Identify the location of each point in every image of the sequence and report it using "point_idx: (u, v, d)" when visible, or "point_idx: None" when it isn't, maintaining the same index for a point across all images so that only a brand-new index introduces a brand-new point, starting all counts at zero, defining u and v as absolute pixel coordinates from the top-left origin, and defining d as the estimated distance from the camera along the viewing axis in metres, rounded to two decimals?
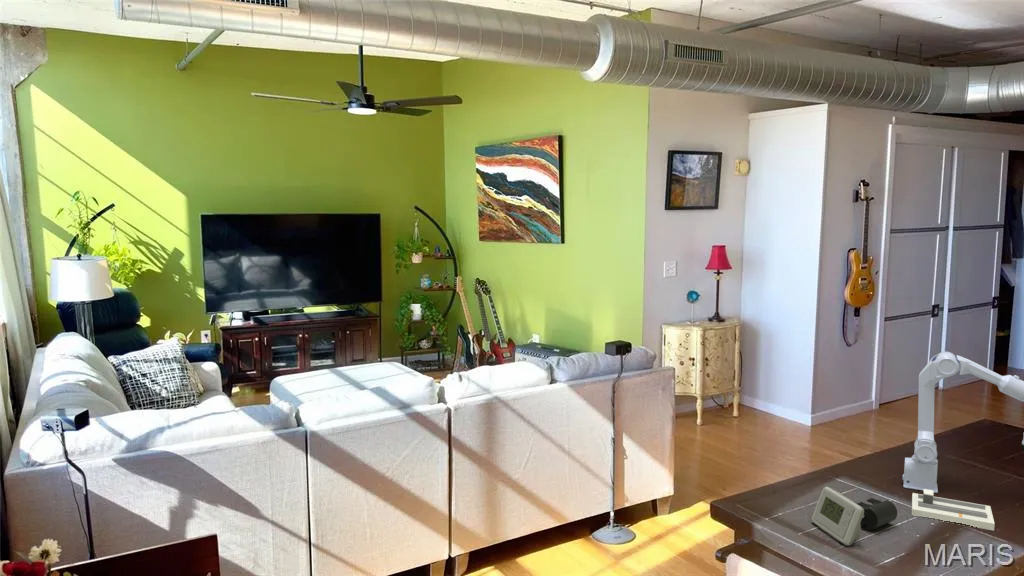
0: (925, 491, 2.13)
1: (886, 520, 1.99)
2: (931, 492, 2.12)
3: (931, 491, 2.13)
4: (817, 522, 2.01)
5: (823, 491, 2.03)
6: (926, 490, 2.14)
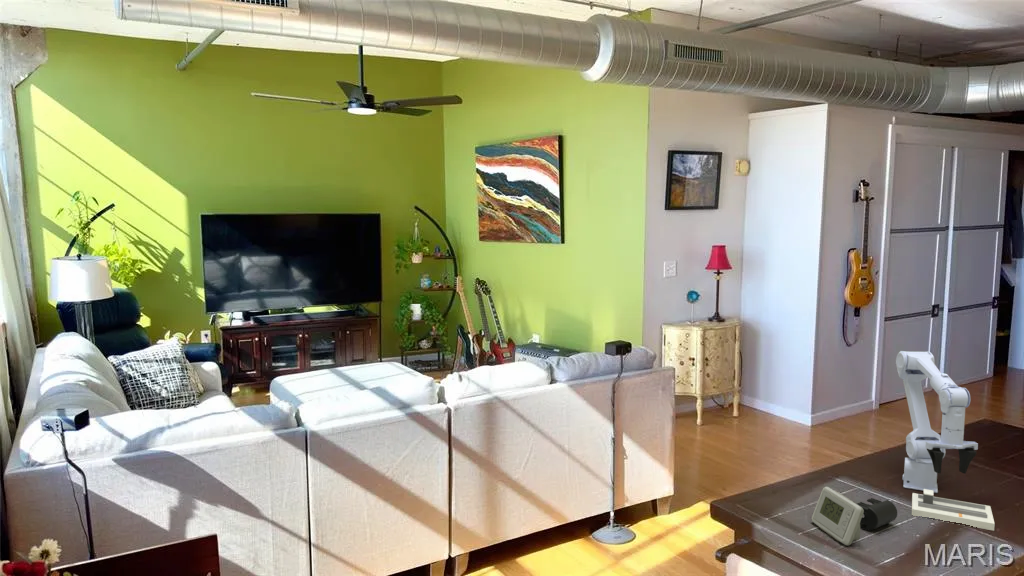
0: (925, 491, 2.13)
1: (886, 520, 1.99)
2: (931, 492, 2.12)
3: (931, 491, 2.13)
4: (817, 522, 2.01)
5: (823, 491, 2.03)
6: (926, 490, 2.14)
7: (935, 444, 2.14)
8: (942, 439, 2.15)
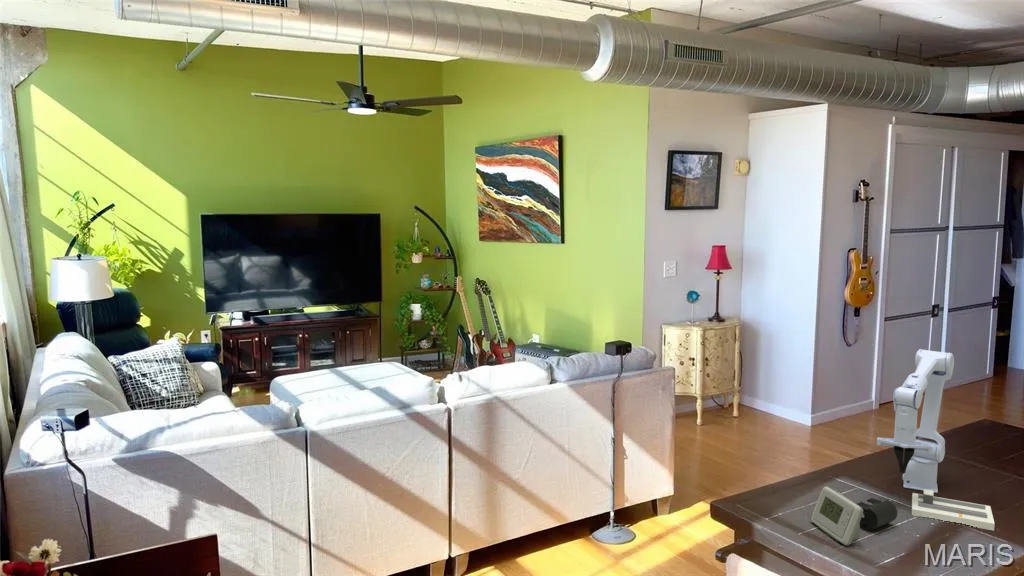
0: (925, 491, 2.13)
1: (886, 520, 1.99)
2: (931, 492, 2.12)
3: (931, 491, 2.13)
4: (816, 522, 2.01)
5: (822, 491, 2.03)
6: (926, 490, 2.14)
7: (883, 440, 2.17)
8: (894, 437, 2.16)
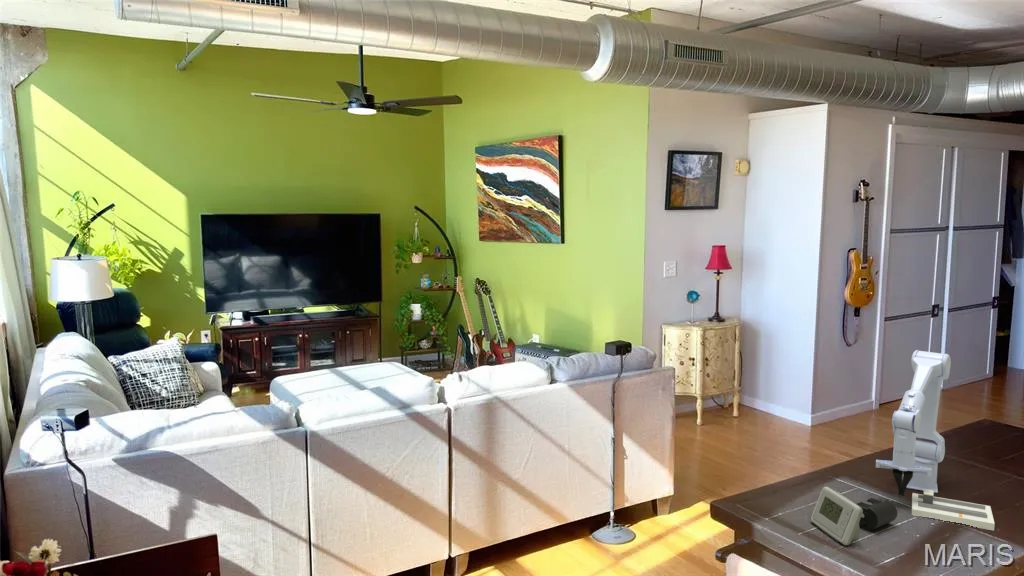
0: (925, 491, 2.13)
1: (886, 520, 1.99)
2: (931, 492, 2.12)
3: (931, 491, 2.13)
4: (816, 522, 2.01)
5: (822, 491, 2.03)
6: (926, 490, 2.14)
7: (882, 463, 2.17)
8: None
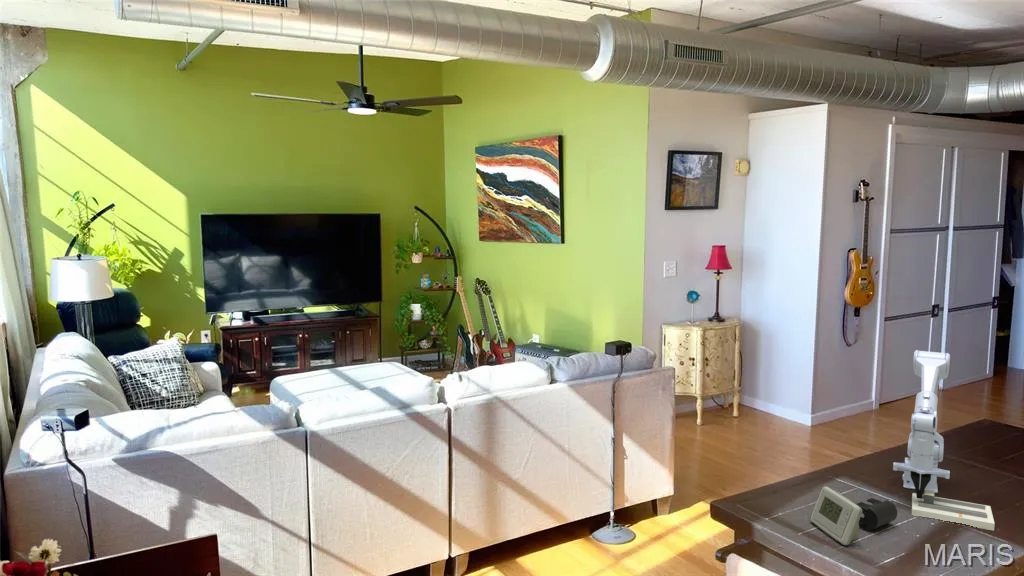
0: (926, 491, 2.13)
1: (886, 520, 1.99)
2: (932, 492, 2.12)
3: (932, 491, 2.13)
4: (816, 522, 2.01)
5: (822, 491, 2.03)
6: (927, 490, 2.14)
7: (899, 466, 2.15)
8: (910, 462, 2.15)
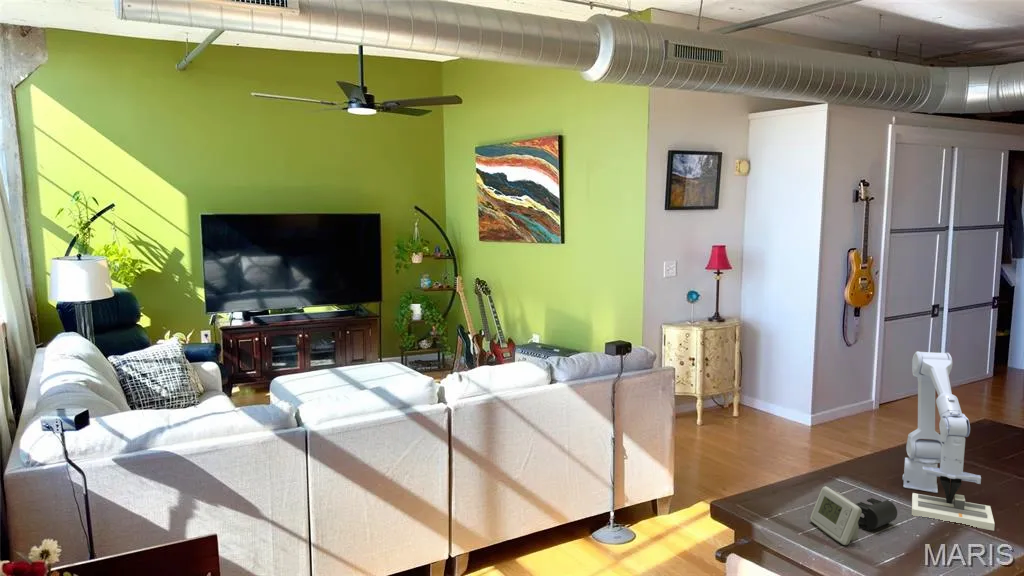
0: (956, 496, 2.09)
1: (886, 520, 1.99)
2: (962, 497, 2.09)
3: (962, 496, 2.09)
4: (815, 521, 2.01)
5: (822, 491, 2.03)
6: (957, 495, 2.10)
7: (929, 470, 2.11)
8: (940, 467, 2.11)
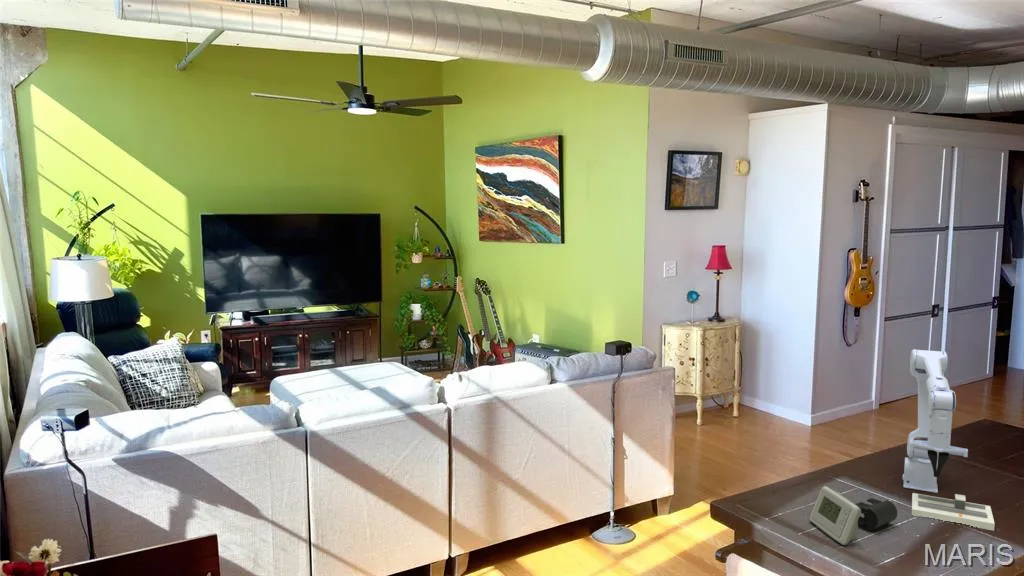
0: (957, 496, 2.09)
1: (886, 520, 1.99)
2: (963, 497, 2.09)
3: (963, 496, 2.09)
4: (815, 521, 2.01)
5: (821, 490, 2.03)
6: (958, 495, 2.10)
7: (916, 444, 2.13)
8: (927, 441, 2.13)
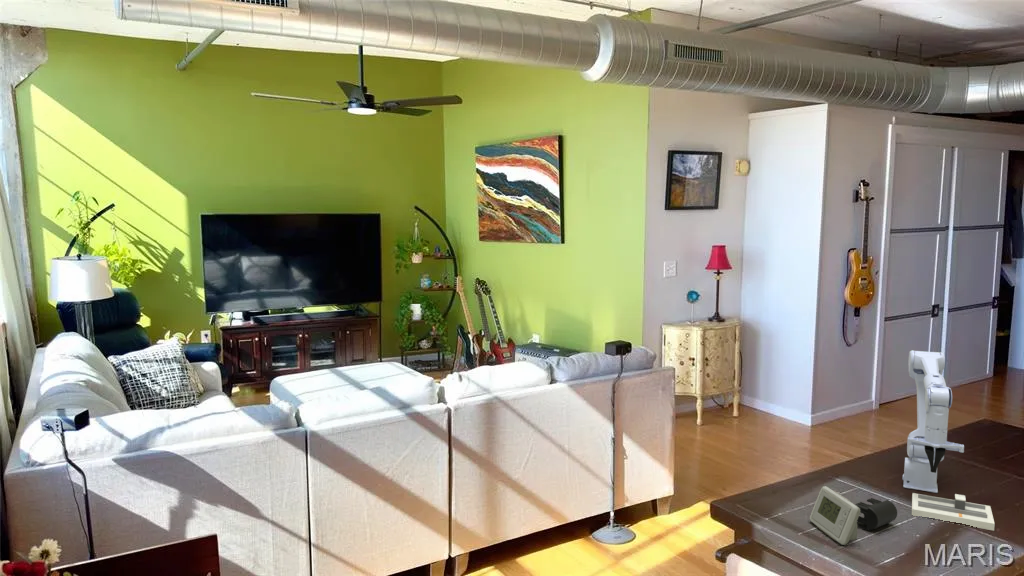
0: (957, 496, 2.09)
1: (886, 520, 1.99)
2: (963, 497, 2.09)
3: (963, 496, 2.09)
4: (815, 521, 2.01)
5: (821, 490, 2.03)
6: (958, 495, 2.10)
7: (913, 440, 2.17)
8: (924, 437, 2.17)
